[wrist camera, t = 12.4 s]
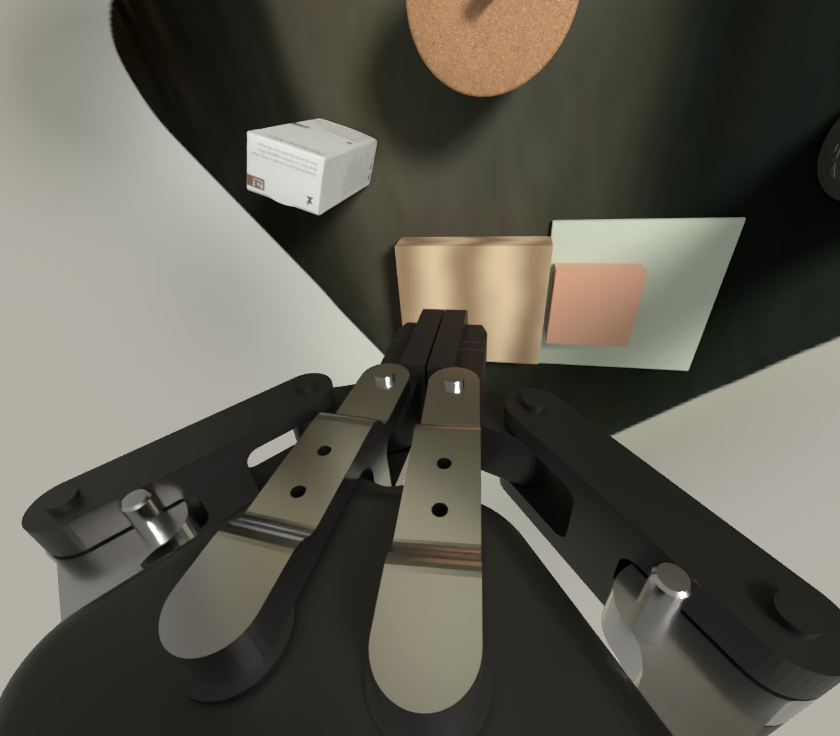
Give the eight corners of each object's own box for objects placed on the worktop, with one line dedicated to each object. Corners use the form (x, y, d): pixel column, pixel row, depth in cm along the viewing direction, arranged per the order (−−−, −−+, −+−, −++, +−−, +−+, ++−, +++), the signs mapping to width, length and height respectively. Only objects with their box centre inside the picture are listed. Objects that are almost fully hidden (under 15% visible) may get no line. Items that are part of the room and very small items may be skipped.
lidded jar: (588, -91, 27) (617, -165, 19) (550, 100, 33) (560, 103, 25) (431, -93, 28) (400, -161, 20) (423, 92, 34) (396, 91, 27)
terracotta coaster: (641, 263, 38) (647, 272, 36) (622, 336, 43) (627, 346, 41) (554, 262, 40) (556, 270, 38) (544, 332, 44) (546, 343, 42)
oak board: (550, 236, 39) (553, 245, 36) (537, 349, 46) (538, 364, 43) (401, 237, 42) (394, 246, 39) (411, 344, 49) (405, 357, 46)
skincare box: (379, 137, 37) (329, 153, 27) (369, 187, 39) (321, 218, 30) (316, 116, 37) (244, 124, 27) (311, 167, 39) (244, 191, 30)
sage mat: (744, 217, 35) (746, 218, 34) (687, 368, 44) (688, 370, 43) (552, 220, 38) (553, 221, 38) (536, 360, 47) (536, 362, 46)
